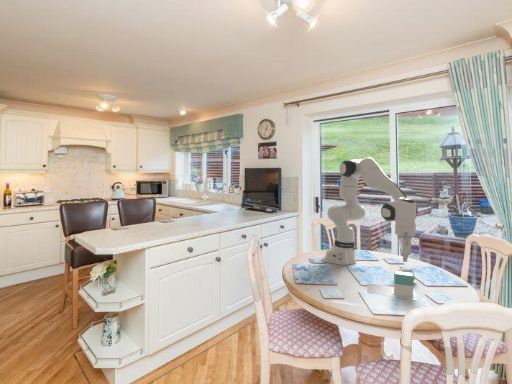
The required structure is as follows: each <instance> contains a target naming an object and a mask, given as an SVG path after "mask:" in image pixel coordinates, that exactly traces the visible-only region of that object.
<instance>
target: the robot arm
mask: <svg viewBox="0 0 512 384" xmlns="http://www.w3.org/2000/svg"><path fill="white" fill-rule="evenodd" d="M339 172H340V174H341V176H340V182H339V193H338V195H339V197H340V199H342V200H343V201H345V204H336V205H332V206H330V207H329V208H328V209H327V217H328V219H329V220H330V221H331V222H332V223H333V224H334V225H335V227H336V234H337V235H336V236H337V239H336V238H335V239H334V240H333V241H334V242H333V244H334V245H332V246H331V247H329V248H328V249H327V250H326V252H325V255H324V256H323V257H322V258H321V260H322V261H323V262H324V263H329V264H334V265H335V264H336V265H340V266H348V265H354V264H357V258H356V252H355V251H356V241H355V229H354V228H353V227H351V226H350V225H348V222H351V221H352V222H353V221H355V222H356V221H360V220H363V219H364V218H365V216H366V210H365V208H364V206H363V205H361V203H360V202H359V199H358V183H359V178H362V180H363V182H364V183H365V184H366V186H367V187H369V188H370V189H372V190H377V191H381V192H384V193H387V194H388V195H390V197H391V198H392V199H393V200H394V201H391V202H385V203H384V204H383V205H382V206H381V210H380V214H381V217H382V219H384V220H385V221H387V222H395V224H394V227H395V228H394V233H395V235H397V239H398V244H399V249H400V255H401V256H402V262H404V263H407V262H408V258H409V256H411V255H412V239H413V237H416V234H417V233H416V230H417V228H416V227H417V225H416V219H417V216H418V214H419V209H418V207H417V204H416V200H414V199H412V198H410V197H407V195H406V194H405V193H404V191H403V190H402V189H401V188H400V187H399V186H398V184H397V183H396V182H395V181H394V180H392V179H391V178H389V176H387V174H385V172H384V171H383V170H382V168H381V166H380V164H378V163H377V161H376V160H374V159H373V158H372V157H365V158H362V159H360V158H356V159H347V160H346V159H345V160H343V161H342V162H341V163H340V166H339Z"/></svg>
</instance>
